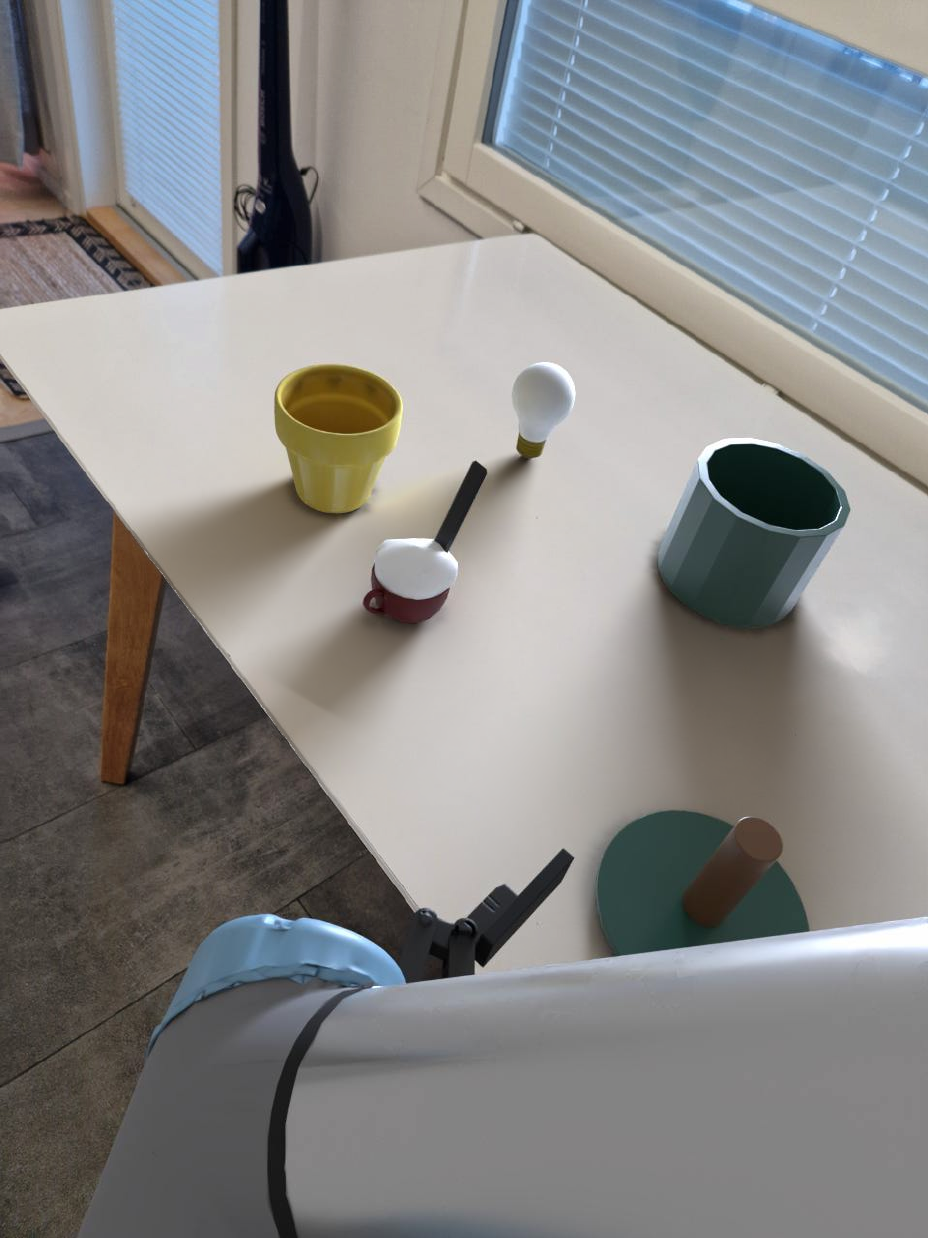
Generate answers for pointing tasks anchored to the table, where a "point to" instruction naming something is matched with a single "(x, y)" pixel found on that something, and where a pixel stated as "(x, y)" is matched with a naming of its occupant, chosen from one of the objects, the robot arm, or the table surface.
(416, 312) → the table surface
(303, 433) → the flower pot
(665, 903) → the lid
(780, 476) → the canister
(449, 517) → the cocoa
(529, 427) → the light bulb
